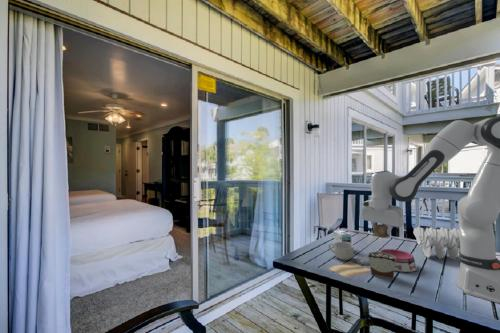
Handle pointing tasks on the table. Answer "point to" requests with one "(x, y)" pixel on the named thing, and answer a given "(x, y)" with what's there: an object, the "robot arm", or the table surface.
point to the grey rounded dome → (363, 261)
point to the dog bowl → (402, 260)
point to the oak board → (349, 269)
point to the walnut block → (380, 230)
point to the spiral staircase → (438, 241)
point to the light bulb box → (342, 236)
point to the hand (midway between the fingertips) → (381, 232)
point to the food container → (382, 264)
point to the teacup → (342, 250)
